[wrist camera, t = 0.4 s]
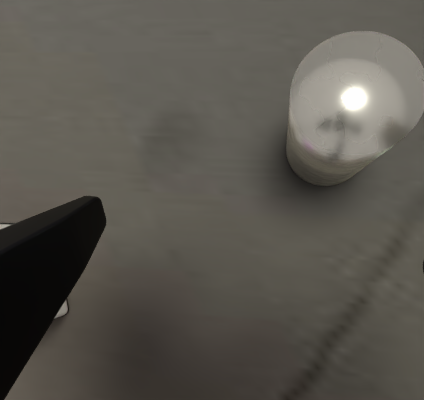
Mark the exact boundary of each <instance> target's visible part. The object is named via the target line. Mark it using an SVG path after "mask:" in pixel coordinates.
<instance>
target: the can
mask: <svg viewBox="0 0 424 400" xmlns="http://www.w3.org/2000/svg"><path fill="white" fill-rule="evenodd" d="M423 112H424V68H423V66H422V64H421V62H420V61H419V59H418V58H417V56H416V55H415V54H414V53H413V52H412V50H411V49H409V48H408V47H407V46H406V45H405V44H403V43H402V42H400V41H399V40H397V39H395V38H393V37H391V36H388V35H385V34H382V33H377V32H371V31H354V32H348V33H343V34H340V35H337V36H334V37H332V38H329V39H328V40H326V41H324V42H322V43H321V44H319V45H318V46H316V47H315V48H314V49H313V50H312V51H310V52H309V53H308V54H307V56H306V57H305V58H304V59H303V60H302V62H301V63H300V65H299V66H298V68H297V70H296V72H295V75H294V77H293V80H292V85H291V91H290V104H289V117H288V130H287V143H286V155H287V159H288V162H289V164H290V166H291V168H292V170H293V171H294V172H295V173H296V174H297V175H298V176H299V177H300V178H301V179H303V180H305V181H306V182H309V183H311V184H314V185H319V186H332V185H337V184H340V183H342V182H344V181H346V180H348V179H350V178H351V177H352V176H354V175H355V174H356V173H358V172H359V171H360V170H362V169H363V168H364V167H366V166H367V165H368V164H370V163H371V162H372V161H374V160H375V159H376V158H378V157H379V156H380V155H382V154H383V153H384V152H386V151H387V150H388V149H390V148H391V147H392V146H394V145H395V144H396V143H398V142H399V141H400V140H402V139H403V138H404V137H405V136H406V135H408V134H409V133H410V131H411V130H412V129H413V128H414V127H415V126H416V124H417V123H418V121H419V120H420V118H421V116H422V114H423Z"/></svg>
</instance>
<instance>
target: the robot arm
mask: <svg viewBox="0 0 424 400" xmlns="http://www.w3.org/2000/svg"><path fill="white" fill-rule="evenodd" d="M105 226H106V216H105V213H104V209H103V205H102V202H101V200H100V198H98V197H94V196H84V197H81V198H78V199H76V200H73V201H71V202H68V203H66V204H63V205H61V206H58V207H56V208H53V209H51V210H48V211H46V212H43V213H40V214H38V215H35V216H33V217H30V218H28V219H25V220H23V221H20V222H18V223H15V224H13V225H10V226H7V227H5V228H2V229H0V400H4V399H5V397H6V396H7V394H8V393H9V391H10V389H11V388H12V386H13V384H14V383H15V381H16V380H17V378H18V376H19V375H20V373H21V372H22V370H23V368H24V367H25V365H26V363H27V362H28V360H29V359H30V357H31V355H32V354H33V352H34V350H35V349H36V347H37V346H38V344H39V342H40V341H41V339H42V338H43V336H44V334H45V333H46V331H47V329H48V328H49V326H50V325H51V323H52V321H53V320H54V318H55V316H56V315H57V313H58V312H59V310H60V308H61V307H62V305H63V304H64V302H65V300H66V299H67V297H68V295H69V294H70V292H71V291H72V289H73V287H74V286H75V284H76V283H77V281H78V279H79V278H80V276H81V274H82V273H83V271H84V269H85V267H86V266H87V264H88V262H89V260H90V258H91V256H92V253H93V251H94V249H95V247H96V245H97V243H98V241H99V239H100V237H101V235H102V233H103V231H104V228H105ZM423 272H424V262H423Z"/></svg>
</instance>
